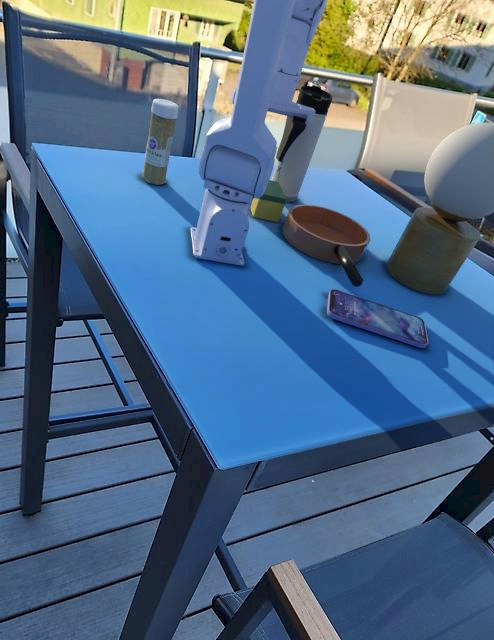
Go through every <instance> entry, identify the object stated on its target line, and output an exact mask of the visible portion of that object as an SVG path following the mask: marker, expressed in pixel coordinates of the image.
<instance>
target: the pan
mask: <svg viewBox="0 0 494 640" xmlns="http://www.w3.org/2000/svg"><path fill="white" fill-rule="evenodd" d="M288 209H289V210H288V213H287V215H286V218H285V220H284V224H283V227H282V235H283V237H284V238H285V240H286V241H287V242H288V243H289V244H290V245H291V246H292V247H294V248H295V249H297V250H299V251H300V252H302V253H303V254H304V255H307V256H310V257H312V258H315V259H316V260H317V259H318V260H319V261H323V262H327V263H332V264H336V265H337V264H338V265H341V264H340V262H339V260H338V258H337V256H336V254H335V253H334V248H335V247H336V246H337V245H340V244H341V245H343V246H344V247H345V249H346V251H347V252H348V254H349V256H350V257H351V259H352V261H353V262H354V264H355V263H358V262H359V261H360V260H361V259H362V258H363V256H364V254H365V252H366V250H367V248H368V246H369V245H370V242H371V234H370V233H369V231H368V229H366V228H365V227H364V226H363V225H362V224H360V223H359V222H358V221H357V220H355V219H353V218H351V217H350V216H348V215H346V214H344V213H341V212H339V211H338V210H334V209H331V208H329V207H328V208H327V207H324V206H319V205H315V204H298V205H293V206H292V207H289V208H288Z"/></svg>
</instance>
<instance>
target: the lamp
mask: <svg viewBox="0 0 494 640" xmlns="http://www.w3.org/2000/svg"><path fill="white" fill-rule="evenodd" d="M424 171H425V172H424V178H423V179H424V183H423V184H424V189H425V194H426V196H427V197H428V199H429V202H430V204H431V207H427V206H426V207H425V206H422V207H417V208H416V209H415V210H414V211H413V213H412V215H411V217H410V219H409V221H408V223H407V224H406V226H405V228H404V230H403V232H402V234H401V236H400V237H399V239H398V241H397V243H396V245H395V246H394V249H393V250H392V252H391V254H390V256H389V257H388V260H387V262H386V264H385V268H386V271H387V272H388V274H389V275H390V276H391V277H392V278H393V279H394V280H395V281H397V282H399V283H400V284H401V285H403V286H405V287H407V288H409V289H411V290H414V291H416V292H419V293H422V294H427V295H433V296H435V295H442V294H443V293H446V291H447V289H448V288H449V286H450V285H451V283H452V282H453V280H454V279H455V277H456V275H458V272H459V271H460V269H461V268H462V267H463V264H464V263H465V262H466V260H467V258H469V256H470V254H471V253H472V251H473V249H474V248H475V246H476V245H477V243H478V241H479V240H480V239H481V233H480V231H478V229H477V228H476V227H474V226H473V225H472V224H470V223H469V222H470V221H474V220H476V219H480V218H484V217H487V216H489V215H491V214H493V213H494V122H476V123H471V124H467V125H464V126H462V127H460V128H458V129H456V130H455V131H453V132H451V133H450V134H448V135H447V136H446V137H444V139H443V140H442V141H440V143H439V144H438V145H437V146H436V148H434V149H433V152H432V153H431V155H430V157H429V159H428V160H427V163H426V167H425V170H424Z"/></svg>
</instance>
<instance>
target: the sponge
mask: <svg viewBox="0 0 494 640" xmlns="http://www.w3.org/2000/svg"><path fill="white" fill-rule="evenodd" d="M271 180H272V179H269V182H268V185H267V187H266V190H265V192H264V194H263V196H262V197H259V198H258V199H256V198H254V199H253V201H252V204H251V207H250V211H251V215H252V217H253V218H255V219H260V220H266V221H270V222H276V223H279V222H280V219H281V217H282V213H283V210H284V207H285V205H286V203H287V202H286V197H285V195H284V193H283V191H282V189H281V187H280V184H279V182H276V181H271Z"/></svg>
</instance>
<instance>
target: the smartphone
mask: <svg viewBox="0 0 494 640" xmlns="http://www.w3.org/2000/svg"><path fill="white" fill-rule="evenodd" d="M326 305H327V306H326V314H327V316H328V317H329V318H330V319H332V320H336V321H339V322H342V323H344V324H347V325H350V326H353V327H356V328H359V329H362V330H366V331H368V332H371V333H375V334H376V335H377V334H378V335H381V336H383V337H386V338H389V339H393V340H394V341H395V340H396V341H399V342H402V343H405V344H408V345H411V346H413V347H417V348H420V349H426V347H428V344H429V338H428V332H427V327H426V323H425V321H424V319H423V318H422V317H420V316H418V315H414V314H412V313H408V312H406V311H402V310H400V309H397V308H394V307H391V306H388V305H384V304H382V303H378V302H375V301H372V300H369V299H367V298H364V297H360V296H357V295H354V294H352V293H348V292H345V291H342V290H340V289H336V288H332V289H330V290H329V292H328V296H327V304H326Z"/></svg>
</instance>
